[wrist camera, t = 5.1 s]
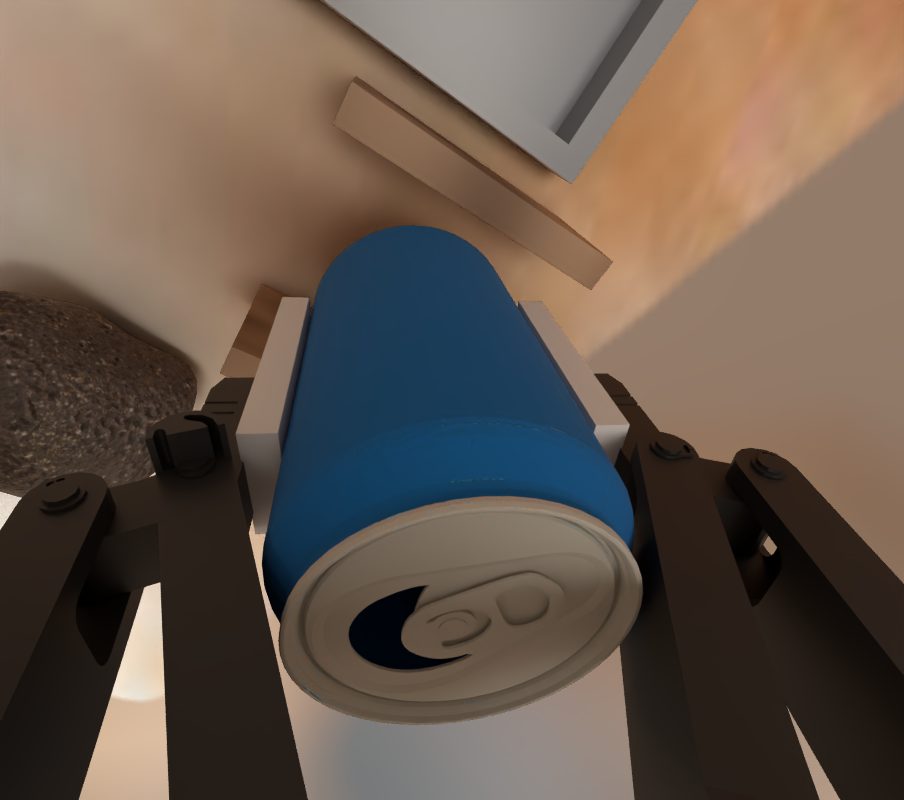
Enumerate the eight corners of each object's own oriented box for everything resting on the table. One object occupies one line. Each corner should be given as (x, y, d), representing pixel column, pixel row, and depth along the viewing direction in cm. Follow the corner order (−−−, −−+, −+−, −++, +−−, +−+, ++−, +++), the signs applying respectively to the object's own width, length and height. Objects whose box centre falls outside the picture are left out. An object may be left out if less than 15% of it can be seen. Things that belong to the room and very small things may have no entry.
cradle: (251, 306, 23) (219, 373, 18) (356, 76, 19) (352, 81, 14) (438, 392, 27) (454, 466, 22) (559, 218, 23) (612, 261, 18)
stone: (199, 420, 30) (260, 405, 22) (64, 537, 25) (81, 570, 18) (56, 280, 26) (69, 205, 18) (-132, 389, 22) (-219, 349, 14)
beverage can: (278, 262, 16) (141, 589, 6) (469, 186, 16) (647, 408, 6) (363, 414, 20) (363, 768, 10) (521, 356, 19) (683, 668, 9)
